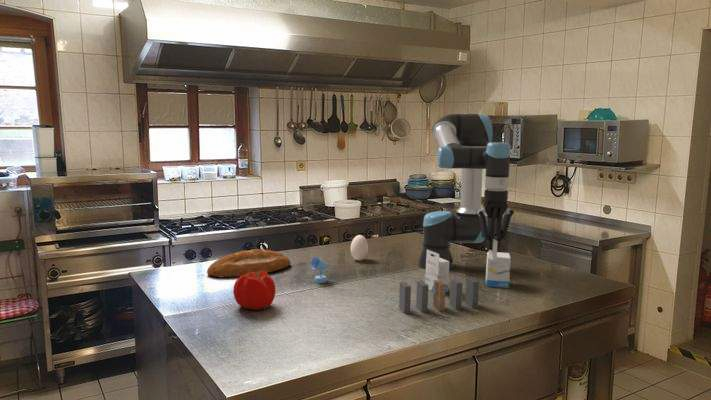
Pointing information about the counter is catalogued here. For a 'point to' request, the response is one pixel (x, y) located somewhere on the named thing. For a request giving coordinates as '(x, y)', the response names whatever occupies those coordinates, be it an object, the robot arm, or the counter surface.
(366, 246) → the egg
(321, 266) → the spotlight
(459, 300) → the domino
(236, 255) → the bread
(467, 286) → the domino
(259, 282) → the tomato
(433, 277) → the ink box
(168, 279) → the counter surface
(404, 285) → the domino
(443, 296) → the walnut domino
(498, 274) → the ink box
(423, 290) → the domino
